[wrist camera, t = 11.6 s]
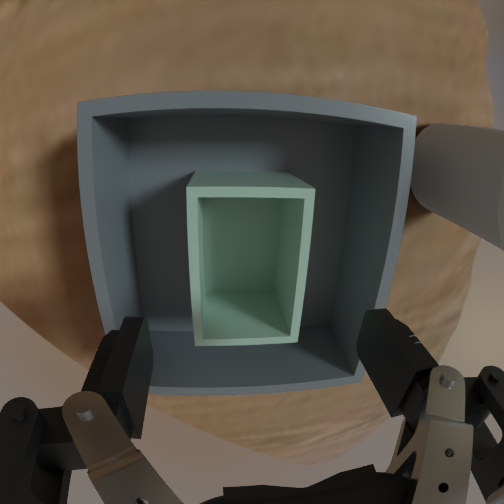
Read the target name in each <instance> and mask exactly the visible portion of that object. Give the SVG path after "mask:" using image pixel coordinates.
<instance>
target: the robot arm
mask: <svg viewBox="0 0 504 504" xmlns="http://www.w3.org/2000/svg"><path fill="white" fill-rule="evenodd" d="M356 350H357V355H358V357H359V359H360V361H361V363H362V364H363V366H364V368H365V370H366V371H367V373H368V375H369V377H370V379H371V381H372V382H373V384H374V386H375V388H376V390H377V391H378V393H379V395H380V397H381V399H382V401H383V403H384V404H385V406H386V408H387V410H388V412H389V414H390V416H391V417H395V416H399V415H402V414H403V415H404V416H405V419H404V421H403V422H402V425H401V429H400V433H399V437H398V440H397V444H396V447H395V451H394V454H393V457H392V460H391V463H390V465H389V467H388V469H387V470H386V472H376V471H375V468H374V465H373V464H371V465H367V466H364V467H360V468H357V469H352V470H348V471H344V472H340V473H338V474H336V475H334V476H331V477H329V478H327V479H325V480H323V481H321V482H318V483H316V484H314V485H311V486H309V487H305V488H293V487H280V486H268V485H255V486H240V487H223V493H224V495H223V496H220V497H215V498H213V499H210V500H207V501H205V502H203V503H200V504H466V498H467V492H468V486H469V478H470V470H471V471H472V473H473V475H474V478H475V479H476V482H477V484H478V486H479V488H480V490H481V492H482V494H483V497H484V499H485V501H486V504H504V372H503V371H502V370H501V369H500V368H498V367H495V366H486V367H484V368H483V369H482V370H481V372H480V374H479V375H478V377H463V376H462V374H461V373H460V372H459V371H457V370H456V369H454V368H452V367H450V366H444V365H441V366H439V365H438V363H437V362H436V361H435V360H434V358H433V357H432V356H431V355H430V353H429V352H428V351H427V349H426V348H425V347H424V346H423V345H422V343H420V341H419V340H418V338H417V337H416V336H414V333H413V332H412V331H411V330H410V329H409V327H408V326H406V325H405V324H403V323H402V322H400V321H399V320H396V319H395V318H394V317H393V316H392V314H391V313H390V312H389V311H388V310H387V309H386V308H382V309H372V310H367V311H366V312H365V314H364V318H363V321H362V325H361V329H360V332H359V336H358V339H357V344H356ZM153 363H154V356H153V348H152V343H151V338H150V332H149V327H148V321H147V318H146V317H133V316H125V317H124V319H123V322H122V324H121V327H120V330H111V331H110V332H109V333H108V334H106V335H105V336H104V337H103V338H102V340H101V343H100V345H99V347H98V351H97V352H96V355H95V357H94V360H93V362H92V364H91V367H90V369H89V372H88V375H87V377H86V380H85V382H84V385H83V387H82V390H81V392H78V393H75V394H73V395H71V396H70V397H69V398H68V399H67V400H66V401H65V402H64V404H63V406H61V407H54V408H44V409H38V408H37V406H36V405H35V403H34V402H33V401H32V400H30V399H28V398H25V397H18V398H14V399H12V400H10V401H8V402H7V403H6V404H5V405H4V406H3V408H2V410H1V412H0V504H67V498H68V491H69V484H70V478H71V471H72V470H76V469H88V472H87V473H88V476H89V478H90V480H91V481H92V484H93V485H94V487H95V489H96V490H97V492H98V494H99V495H100V497H101V499H102V500H103V502H104V504H183V503H182V501H181V500H180V499H179V498H178V497H177V496H176V495H175V493H174V492H173V491H172V490H171V489H170V488H169V486H168V485H167V484H166V483H165V482H164V480H163V479H162V478H161V477H160V476H159V474H158V473H157V472H156V471H155V469H154V468H153V467H152V465H151V464H150V463H149V461H148V460H147V459H146V458H145V456H144V455H143V454H142V452H141V451H140V450H137V449H136V447H135V446H134V445H133V443H132V442H131V438H135V439H141V435H142V428H143V421H144V415H145V409H146V403H147V397H148V392H149V386H150V381H151V375H152V370H153ZM490 413H491V414H492V415H493V417H494V418H495V420H496V421H497V423H498V425H499V426H500V428H501V430H502V439H501V441H500V443H499V444H497V442H496V440H495V439H494V437H493V435H492V434H491V432H490V430H489V429H488V427H487V426H486V424H485V422H484V420H485V419H486V418H487V417H488V415H489V414H490Z"/></svg>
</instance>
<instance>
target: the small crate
mask: <svg viewBox="0 0 504 504" xmlns="http://www.w3.org/2000/svg"><path fill="white" fill-rule="evenodd" d="M186 196H187V232H188V255H189V274H190V290H191V304H192V317H193V329H194V341H195V346H231V345H260V344H279V343H294V342H298V336H299V329H300V322H301V315H302V308H303V300H304V293H305V285H306V277H307V268H308V260H309V251H310V242H311V232H312V222H313V211H314V200H315V188H313V187H312V186H310V185H309V184H307V183H305V182H304V181H302V180H301V179H299V178H297V177H296V176H294V175H292V174H291V173H289V172H278V171H237V170H202V171H195V173H194V175H193V176H192V178H191V180H190V181H189V183H188V185H187V187H186Z"/></svg>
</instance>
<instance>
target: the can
mask: <svg viewBox="0 0 504 504" xmlns="http://www.w3.org/2000/svg"><path fill="white" fill-rule="evenodd" d="M410 187H411V189H412V192H413V195H414V196H415V198H416V199H417V200H418V202H419V203H420V205H422V206H423V207H425V208H426V209H428V210H429V211H431V212H433V213H435V214H437V215H439V216H441V217H443V218H445V219H447V220H449V221H451V222H453V223H455V224H457V225H459V226H461V227H463V228H465V229H467V230H468V231H470V232H472V233H474V234H476V235H478V236H479V237H481V238H483V239H485V240H486V241H488V242H490V243H492V244H493V245H495V246H497V247H499V248H501V249H502V250H504V130H501V129H494V128H487V127H479V126H470V125H461V124H450V123H436V124H431V125H429V126H428V127H426V128H424V129H423V130H422V131H421V132H420V133H419V135H418V136H417V137H416V138H415V146H414V157H413V167H412V175H411V183H410Z"/></svg>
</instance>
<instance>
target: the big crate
mask: <svg viewBox="0 0 504 504" xmlns="http://www.w3.org/2000/svg"><path fill="white" fill-rule="evenodd" d="M415 133H416V116H414V115H410V114H406V113H401V112H397V111H393V110H388V109H384V108H379V107H374V106H369V105H364V104H358V103H353V102H347V101H340V100H334V99H327V98H319V97H311V96H303V95H293V94H282V93H268V92H250V91H177V92H159V93H146V94H135V95H125V96H117V97H109V98H102V99H95V100H89V101H83V102H77V155H78V174H79V188H80V199H81V209H82V218H83V226H84V233H85V240H86V247H87V253H88V259H89V264H90V270H91V275H92V280H93V285H94V290H95V295H96V299H97V303H98V308H99V312H100V316H101V320H102V324H103V328H104V332H105V335H106V334H108V333H109V332H110V331H111V330H120V327H121V324H122V322H123V319H124V317H125V316H133V317H146V318H147V321H148V327H149V332H150V338H151V343H152V348H153V356H154V363H153V370H152V375H151V381H150V386H149V392H148V394H161V395H200V396H207V395H247V394H264V393H278V392H289V391H300V390H309V389H317V388H325V387H332V386H339V385H346V384H352V383H358V382H361V381H362V379H363V376H364V373H365V368H364V366H363V364H362V363H361V361H360V359H359V357H358V355H357V350H356V344H357V339H358V336H359V332H360V329H361V325H362V321H363V318H364V314H365V312H366V311H367V310H372V309H382V308H385V307H386V303H387V300H388V296H389V292H390V288H391V284H392V280H393V276H394V272H395V267H396V263H397V258H398V254H399V249H400V244H401V239H402V234H403V228H404V223H405V217H406V211H407V204H408V198H409V191H410V183H411V175H412V167H413V157H414V146H415ZM202 170H237V171H278V172H289V173H291V174H292V175H294V176H296V177H297V178H299V179H301V180H302V181H304V182H305V183H307V184H309V185H310V186H312V187H313V188H315V200H314V211H313V222H312V232H311V242H310V251H309V260H308V268H307V277H306V285H305V293H304V300H303V308H302V315H301V322H300V329H299V336H298V342H294V343H279V344H260V345H231V346H195V341H194V329H193V317H192V304H191V290H190V274H189V255H188V232H187V196H186V187H187V185H188V183H189V181H190V180H191V178H192V176H193V175H194V173H195V171H202Z"/></svg>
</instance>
